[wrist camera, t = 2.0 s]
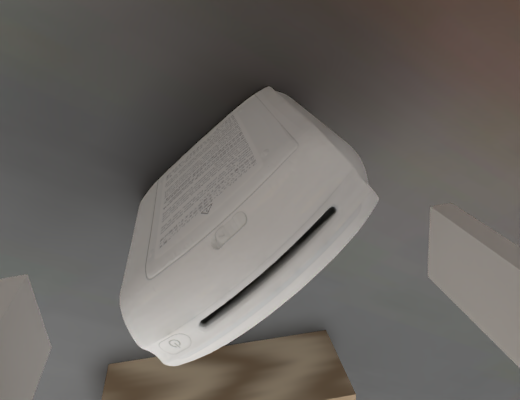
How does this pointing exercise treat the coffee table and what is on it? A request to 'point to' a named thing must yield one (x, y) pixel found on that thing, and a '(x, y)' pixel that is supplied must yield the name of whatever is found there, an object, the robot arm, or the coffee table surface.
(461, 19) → the coffee table surface
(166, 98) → the coffee table surface
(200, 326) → the photo printer
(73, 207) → the coffee table surface
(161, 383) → the birch box
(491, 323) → the robot arm
